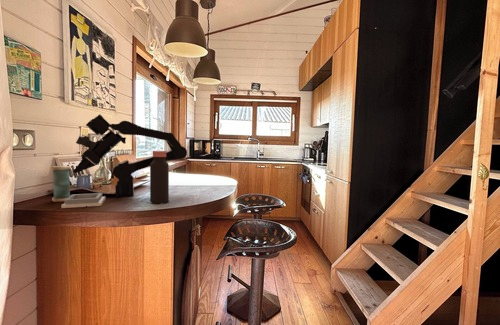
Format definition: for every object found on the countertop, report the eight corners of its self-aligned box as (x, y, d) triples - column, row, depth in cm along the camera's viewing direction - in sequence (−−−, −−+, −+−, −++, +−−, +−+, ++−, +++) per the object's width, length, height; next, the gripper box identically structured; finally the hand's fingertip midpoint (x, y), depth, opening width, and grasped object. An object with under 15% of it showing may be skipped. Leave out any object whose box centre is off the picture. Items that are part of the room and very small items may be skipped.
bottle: (149, 204, 96) (149, 151, 94) (151, 200, 102) (151, 150, 101) (168, 203, 97) (168, 151, 96) (168, 199, 104) (169, 150, 102)
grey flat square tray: (105, 198, 103) (105, 192, 103) (100, 205, 92) (100, 198, 92) (70, 200, 98) (70, 194, 98) (61, 208, 88) (61, 200, 88)
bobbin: (73, 197, 103) (72, 165, 102) (69, 201, 98) (68, 167, 97) (55, 198, 101) (54, 166, 100) (50, 202, 95) (48, 167, 94)
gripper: (90, 129, 110) (59, 155, 105) (89, 128, 94) (52, 158, 89) (111, 148, 115) (82, 173, 110) (113, 149, 99) (80, 179, 94)
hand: (75, 171), depth 101 cm, fingers open, 9 cm apart
